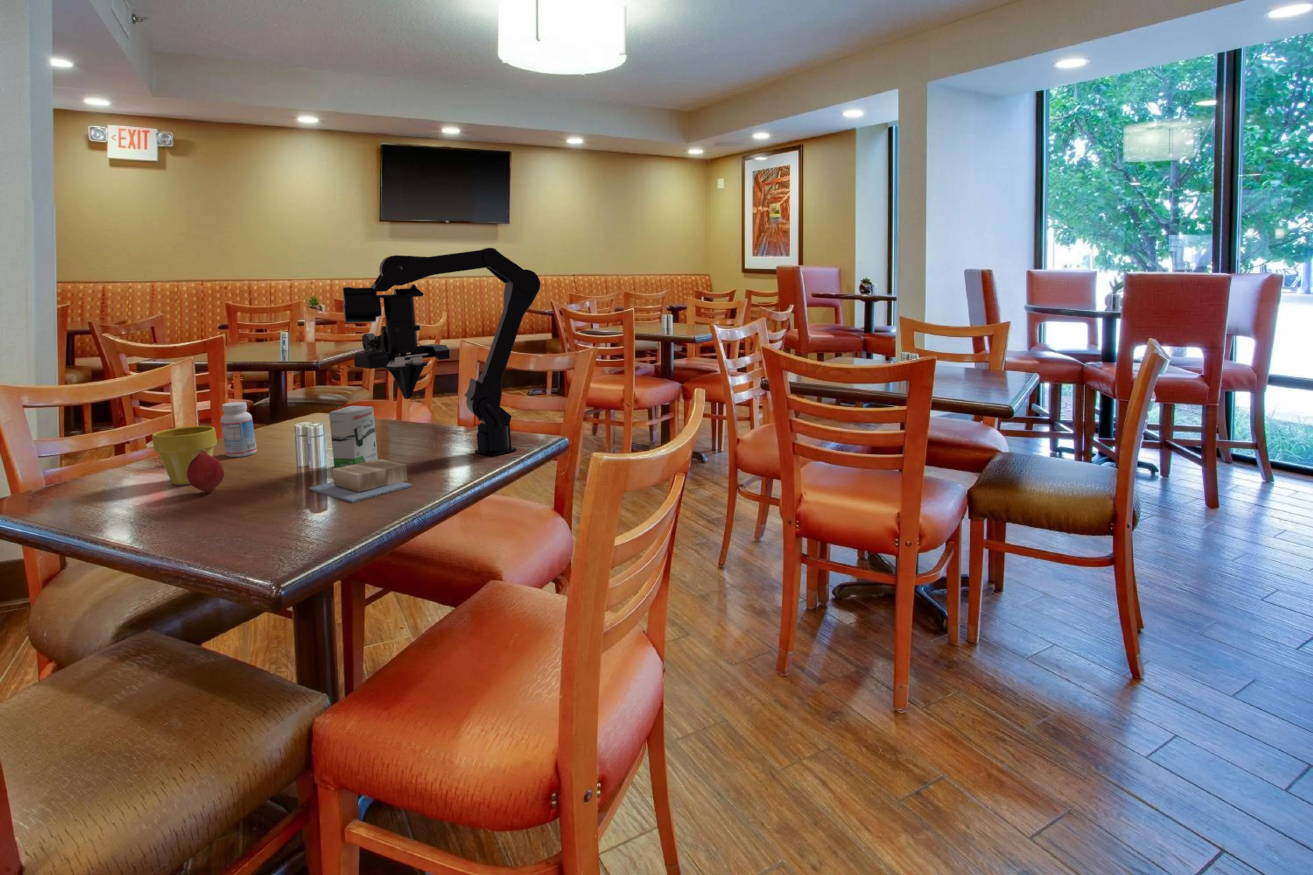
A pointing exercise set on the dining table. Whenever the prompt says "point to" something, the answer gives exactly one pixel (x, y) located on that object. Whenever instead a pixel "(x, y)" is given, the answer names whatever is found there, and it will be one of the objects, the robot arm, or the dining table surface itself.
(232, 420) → the pill bottle
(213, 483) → the onion
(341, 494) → the rubber mat
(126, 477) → the dining table surface
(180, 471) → the plant pot
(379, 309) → the robot arm
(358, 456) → the ink box
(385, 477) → the maple slab
